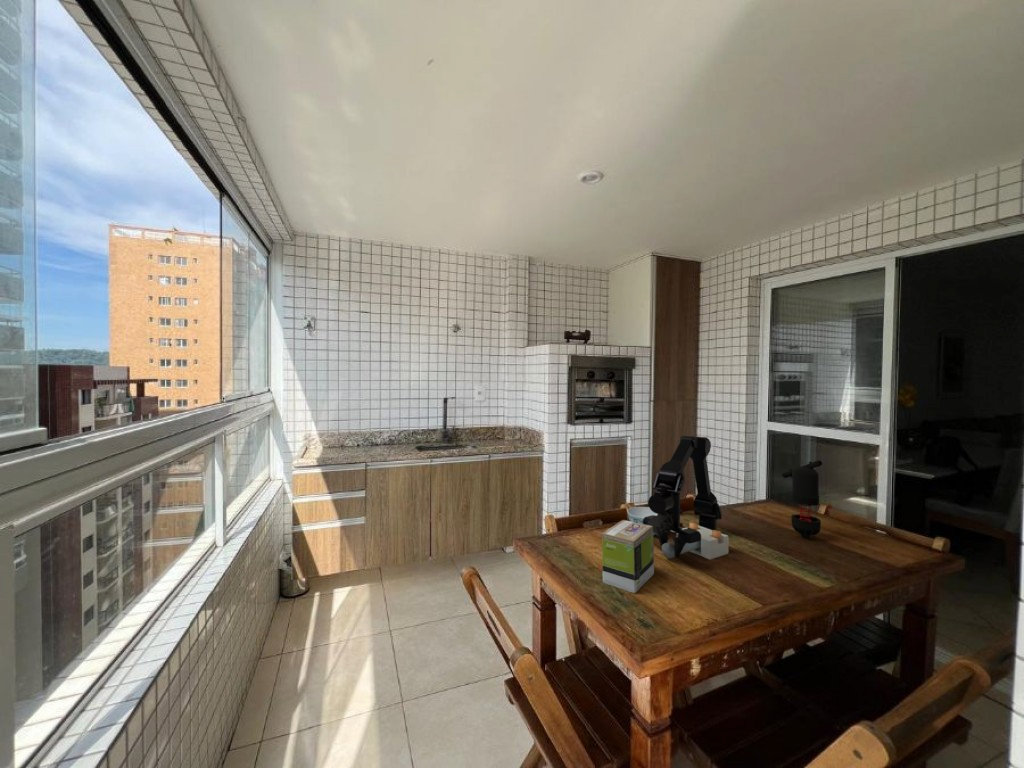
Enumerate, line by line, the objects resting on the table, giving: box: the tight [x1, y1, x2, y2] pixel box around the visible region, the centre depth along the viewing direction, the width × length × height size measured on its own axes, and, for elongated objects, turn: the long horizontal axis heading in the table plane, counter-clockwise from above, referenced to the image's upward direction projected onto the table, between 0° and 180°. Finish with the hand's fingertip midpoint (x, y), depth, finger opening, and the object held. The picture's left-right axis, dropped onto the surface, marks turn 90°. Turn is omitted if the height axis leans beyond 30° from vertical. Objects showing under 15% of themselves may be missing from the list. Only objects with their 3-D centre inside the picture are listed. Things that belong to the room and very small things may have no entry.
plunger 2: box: [712, 530, 722, 541], centre depth 134 cm, size 3×3×2 cm
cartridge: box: [661, 541, 701, 559], centre depth 132 cm, size 16×5×5 cm, turn 119°
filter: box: [781, 459, 823, 540], centre depth 150 cm, size 14×9×30 cm
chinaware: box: [627, 506, 658, 536], centre depth 154 cm, size 15×15×8 cm
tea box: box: [601, 519, 655, 594], centre depth 116 cm, size 15×10×15 cm
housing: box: [682, 525, 729, 561], centre depth 137 cm, size 10×12×6 cm
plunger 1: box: [688, 521, 699, 530], centre depth 142 cm, size 3×3×2 cm
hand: (670, 554), depth 129 cm, fingers closed on cartridge, 4 cm apart
